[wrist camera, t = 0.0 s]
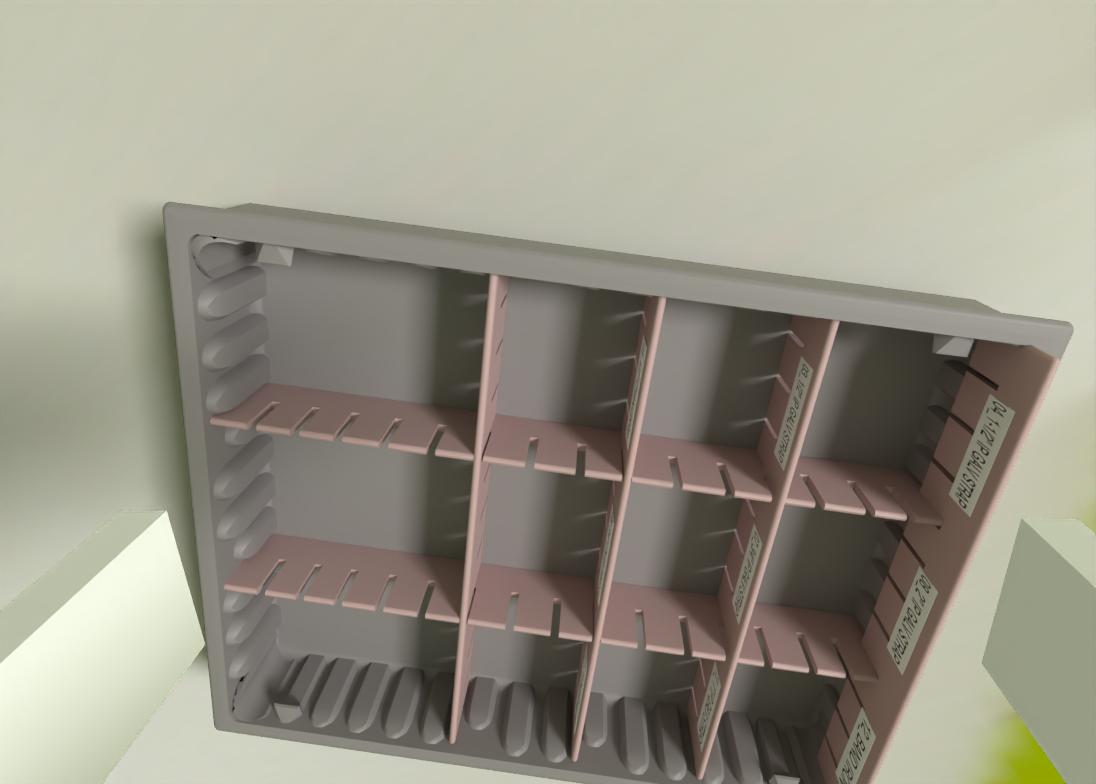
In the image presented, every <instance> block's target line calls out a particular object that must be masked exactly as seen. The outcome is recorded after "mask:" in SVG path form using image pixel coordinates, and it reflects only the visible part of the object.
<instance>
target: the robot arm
mask: <svg viewBox="0 0 1096 784" xmlns="http://www.w3.org/2000/svg"><path fill="white" fill-rule="evenodd" d="M204 646H205V642H204V638H203V635H202V631H201V628H200V624H199V621H198V618H197V614H196V611H195V607H194V604H193V600H192V597H191V593H190V590H189V586H188V583H187V580H186V576H185V573H184V569H183V566H182V562H181V559H180V555H179V552H178V548H177V545H176V542H175V538H174V535H173V531H172V528H171V524H170V521H169V517H168V514H167V511H137V510H121V511H120V512H119V513H118V514H116V515H115V516H114V517H113V518H112V519H110V520H109V521H108V522H107V523H106V524H104V525H103V526H102V527H101V528H100V529H98V530H97V531H96V532H95V533H94V534H92V535H91V536H90V537H89V538H88V539H86V540H85V541H84V542H83V543H82V544H80V545H79V546H78V547H77V548H76V549H74V550H73V551H72V552H71V553H69V554H68V555H67V556H66V557H65V558H63V559H62V560H61V561H60V562H59V563H57V564H56V565H55V566H54V567H53V568H51V569H50V570H49V571H48V572H47V573H45V574H44V575H43V576H42V577H41V578H39V579H38V580H37V581H36V582H35V583H33V584H32V585H31V586H30V587H29V588H27V589H26V590H25V591H24V592H23V593H21V594H20V595H19V596H18V597H17V598H15V599H14V600H13V601H12V602H10V603H9V604H8V605H7V606H6V607H4V608H3V609H2V610H1V611H0V784H103V782H104V781H105V780H106V778H107V777H108V775H109V774H110V773H111V771H112V770H113V769H114V767H115V766H116V765H117V763H118V762H119V761H120V759H121V758H122V757H123V755H124V754H125V753H126V751H127V750H128V748H129V747H130V746H131V744H132V743H133V742H134V740H135V739H136V738H137V736H138V735H139V734H140V732H141V731H142V730H143V728H144V727H145V725H146V724H147V723H148V721H149V720H150V719H151V717H152V716H153V715H154V713H155V712H156V711H157V709H158V708H159V707H160V705H161V704H162V702H163V701H164V700H165V698H166V697H167V696H168V694H169V693H170V692H171V690H172V689H173V688H174V686H175V685H176V684H177V682H178V681H179V680H180V678H181V677H182V675H183V674H184V673H185V671H186V670H187V669H188V667H189V666H190V665H191V663H192V662H193V661H194V659H195V658H196V657H197V655H198V654H199V652H200V651H201V650H202V648H203V647H204ZM982 664H983V666H984V667H985V669H986V670H987V671H988V673H989V674H990V676H991V677H992V678H993V680H994V681H995V683H996V684H997V686H998V687H999V688H1000V690H1001V691H1002V693H1003V694H1004V695H1005V697H1006V698H1007V700H1008V701H1009V703H1010V704H1011V705H1012V707H1013V708H1014V710H1015V711H1016V713H1017V714H1018V715H1019V717H1020V718H1021V720H1022V721H1023V722H1024V724H1025V725H1026V727H1027V728H1028V730H1029V731H1030V732H1031V734H1032V735H1033V737H1034V738H1035V740H1036V741H1037V742H1038V744H1039V745H1040V747H1041V748H1042V749H1043V751H1044V752H1045V754H1046V755H1047V757H1048V758H1049V759H1050V761H1051V762H1052V764H1053V765H1054V767H1055V768H1056V769H1057V771H1058V772H1059V774H1060V775H1061V776H1062V778H1063V779H1064V781H1065V782H1066V784H1096V534H1095V533H1094V532H1092V531H1091V530H1090V529H1089V528H1088V527H1086V526H1085V525H1084V524H1083V523H1082V522H1080V521H1079V520H1078V519H1077V518H1021V522H1020V525H1019V529H1018V533H1017V536H1016V540H1015V543H1014V547H1013V551H1012V554H1011V558H1010V562H1009V565H1008V569H1007V573H1006V576H1005V580H1004V584H1003V587H1002V591H1001V594H1000V598H999V602H998V605H997V609H996V613H995V616H994V620H993V624H992V627H991V631H990V635H989V638H988V642H987V645H986V649H985V653H984V656H983V660H982Z"/></svg>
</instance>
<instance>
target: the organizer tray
mask: <svg viewBox="0 0 1096 784" xmlns="http://www.w3.org/2000/svg"><path fill="white" fill-rule="evenodd" d="M163 220H164V230H165V240H166V250H167V260H168V270H169V280H170V290H171V300H172V310H173V320H174V330H175V340H176V350H177V359H178V369H179V379H180V389H181V399H182V409H183V419H184V429H185V439H186V449H187V459H188V469H189V479H190V489H191V499H192V509H193V519H194V529H195V538H196V548H197V558H198V568H199V578H200V588H201V598H202V608H203V618H204V628H205V638H206V648H207V658H208V668H209V678H210V688H211V698H212V708H213V718H214V726H215V728H216V729H217V730H220V731H227V732H234V733H241V734H248V735H255V736H261V737H268V738H275V739H282V740H289V741H296V742H302V743H309V744H316V745H323V746H330V747H337V748H343V749H350V750H357V751H364V752H371V753H378V754H384V755H391V756H398V757H405V758H412V759H419V760H425V761H432V762H439V763H446V764H453V765H460V766H467V767H473V768H480V769H487V770H494V771H501V772H508V773H514V774H521V775H528V776H535V777H542V778H549V779H555V780H562V781H569V782H576V783H583V784H874V781H875V779H876V777H877V775H878V772H879V770H880V768H881V766H882V763H883V761H884V759H885V757H886V754H887V752H888V750H889V747H890V745H891V743H892V741H893V738H894V736H895V734H896V732H897V729H898V727H899V725H900V723H901V720H902V718H903V716H904V714H905V711H906V709H907V707H908V705H909V702H910V700H911V698H912V696H913V693H914V691H915V689H916V687H917V684H918V682H919V680H920V678H921V675H922V673H923V671H924V669H925V666H926V664H927V662H928V660H929V657H930V655H931V653H932V651H933V648H934V646H935V644H936V641H937V639H938V637H939V635H940V632H941V630H942V628H943V626H944V623H945V621H946V619H947V617H948V614H949V612H950V610H951V608H952V605H953V603H954V601H955V599H956V596H957V594H958V592H959V590H960V587H961V585H962V583H963V581H964V578H965V576H966V574H967V572H968V569H969V567H970V565H971V563H972V560H973V558H974V556H975V554H976V551H977V549H978V547H979V545H980V542H981V540H982V538H983V535H984V533H985V531H986V529H987V526H988V524H989V522H990V520H991V517H992V515H993V513H994V511H995V508H996V506H997V504H998V502H999V499H1000V497H1001V495H1002V493H1003V490H1004V488H1005V486H1006V484H1007V481H1008V479H1009V477H1010V475H1011V472H1012V470H1013V468H1014V466H1015V463H1016V461H1017V459H1018V457H1019V454H1020V452H1021V450H1022V448H1023V445H1024V443H1025V441H1026V439H1027V436H1028V434H1029V432H1030V429H1031V427H1032V425H1033V423H1034V420H1035V418H1036V416H1037V414H1038V411H1039V409H1040V407H1041V405H1042V402H1043V400H1044V398H1045V396H1046V393H1047V391H1048V389H1049V387H1050V384H1051V382H1052V380H1053V378H1054V375H1055V373H1056V371H1057V369H1058V366H1059V364H1060V361H1061V358H1062V356H1063V354H1064V352H1065V349H1066V347H1067V345H1068V343H1069V340H1070V338H1071V336H1072V334H1073V326H1072V324H1071V323H1069V322H1066V321H1059V320H1051V319H1044V318H1036V317H1029V316H1021V315H1014V314H1006V313H1001V312H999V311H996V310H994V309H992V308H990V307H988V306H986V305H984V304H982V303H980V302H978V301H976V300H972V299H965V298H957V297H950V296H942V295H935V294H927V293H920V292H912V291H905V290H897V289H890V288H882V287H875V286H867V285H860V284H852V283H845V282H837V281H830V280H822V279H815V278H807V277H800V276H792V275H785V274H777V273H770V272H762V271H755V270H747V269H740V268H732V267H725V266H717V265H710V264H702V263H695V262H687V261H680V260H672V259H665V258H657V257H650V256H642V255H635V254H627V253H620V252H612V251H605V250H597V249H590V248H582V247H575V246H567V245H560V244H552V243H545V242H537V241H530V240H522V239H515V238H507V237H500V236H492V235H485V234H477V233H470V232H462V231H455V230H447V229H440V228H432V227H425V226H417V225H410V224H402V223H395V222H387V221H380V220H372V219H365V218H357V217H350V216H342V215H334V214H327V213H319V212H312V211H304V210H297V209H289V208H282V207H274V206H267V205H259V204H252V203H249V204H245V205H241V206H237V207H233V208H229V209H220V208H212V207H205V206H197V205H190V204H182V203H175V202H168V203H166V204H165V205H164V207H163Z"/></svg>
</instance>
